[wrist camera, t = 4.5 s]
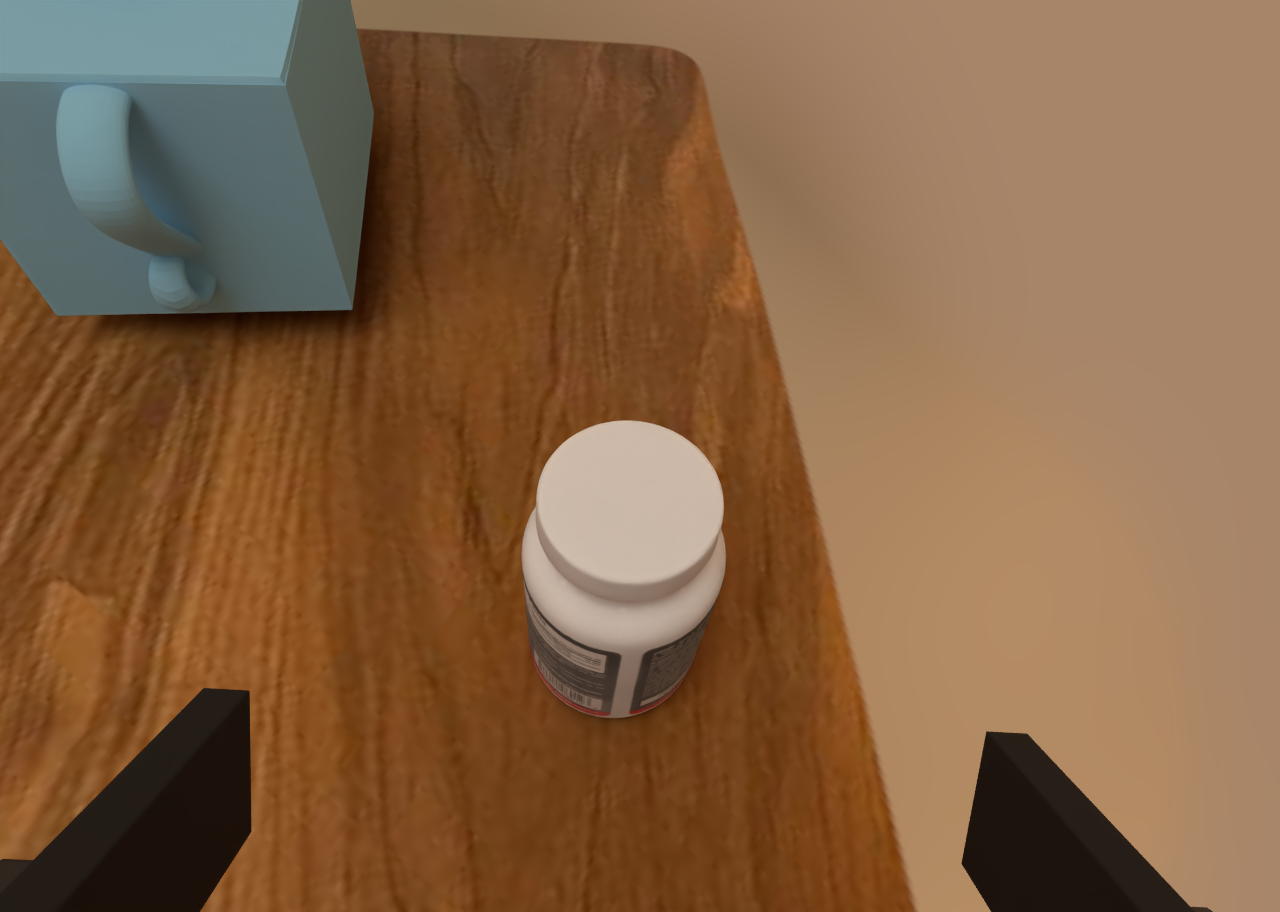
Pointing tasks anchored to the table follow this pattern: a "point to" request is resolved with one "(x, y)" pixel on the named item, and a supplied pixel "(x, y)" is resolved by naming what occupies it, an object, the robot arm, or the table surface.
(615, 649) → the pill bottle
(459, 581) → the table surface
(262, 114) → the teapot
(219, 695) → the robot arm
